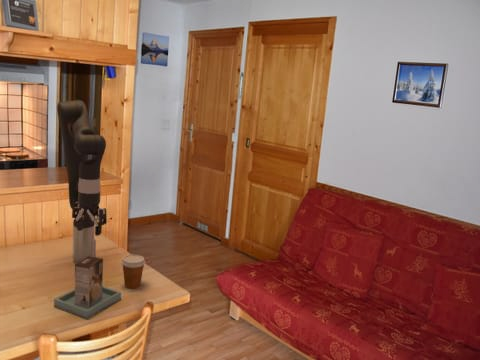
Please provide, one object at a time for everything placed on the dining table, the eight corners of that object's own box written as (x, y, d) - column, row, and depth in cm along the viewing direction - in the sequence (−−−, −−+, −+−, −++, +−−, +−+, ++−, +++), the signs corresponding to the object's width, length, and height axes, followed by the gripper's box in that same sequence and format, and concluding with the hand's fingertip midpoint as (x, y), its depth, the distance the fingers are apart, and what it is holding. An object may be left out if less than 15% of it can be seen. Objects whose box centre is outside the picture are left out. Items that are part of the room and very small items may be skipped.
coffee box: (87, 293, 173) (88, 255, 169) (102, 297, 171) (103, 258, 168) (74, 304, 164) (74, 264, 160) (89, 308, 162) (90, 267, 159)
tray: (89, 288, 179) (89, 281, 178) (120, 299, 173) (121, 292, 172) (54, 306, 163) (54, 299, 162) (86, 319, 157) (87, 311, 156)
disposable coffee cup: (130, 278, 191) (132, 252, 189) (148, 284, 187) (150, 257, 185) (115, 286, 183) (116, 259, 180) (134, 292, 179) (135, 265, 176)
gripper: (112, 191, 159) (111, 234, 163) (82, 184, 165) (81, 226, 169) (97, 195, 153) (96, 239, 156) (66, 188, 158) (66, 231, 162)
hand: (88, 232), depth 162 cm, fingers open, 8 cm apart
